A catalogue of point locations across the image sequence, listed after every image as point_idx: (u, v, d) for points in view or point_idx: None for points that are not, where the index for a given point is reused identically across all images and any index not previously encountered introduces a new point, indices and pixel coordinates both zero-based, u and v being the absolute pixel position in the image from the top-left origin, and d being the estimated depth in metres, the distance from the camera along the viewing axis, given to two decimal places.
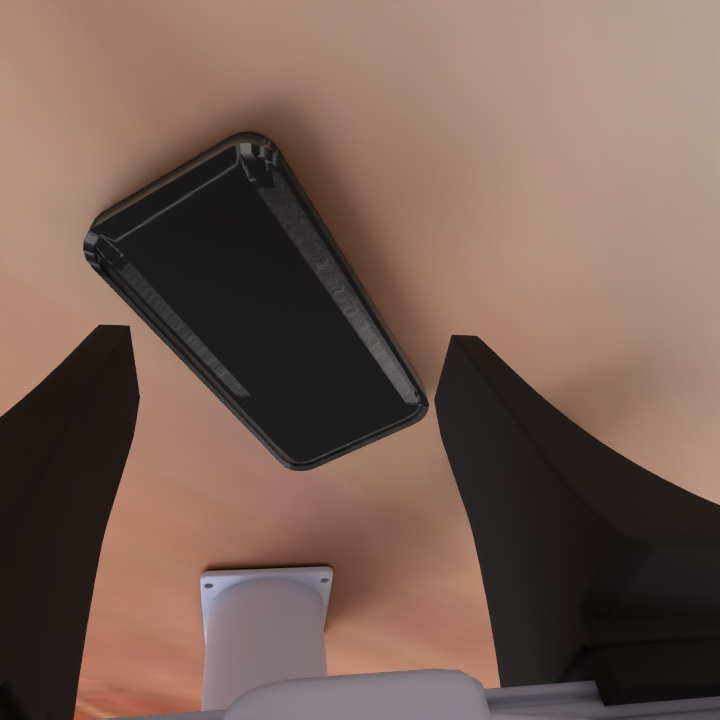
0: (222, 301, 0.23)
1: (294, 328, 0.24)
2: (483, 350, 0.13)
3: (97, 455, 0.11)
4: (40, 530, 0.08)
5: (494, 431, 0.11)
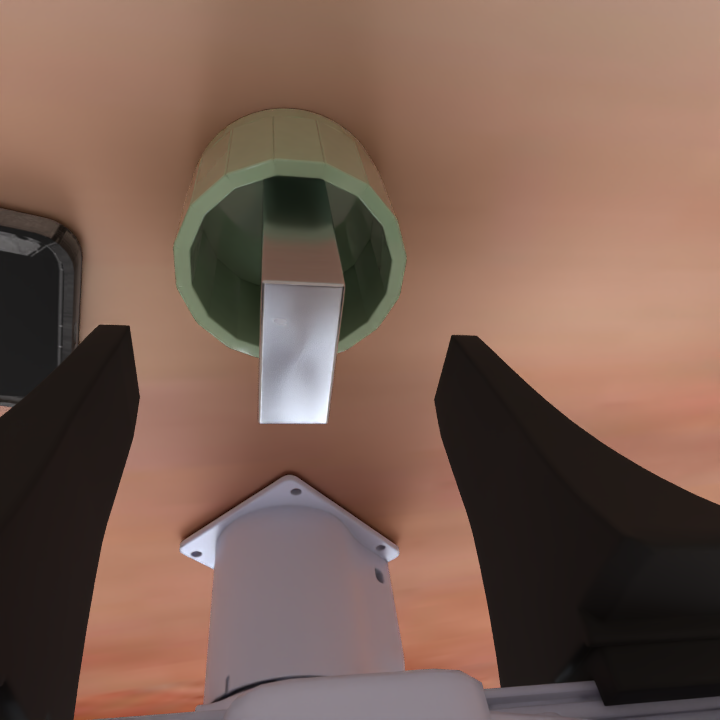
0: None
1: None
2: (483, 350, 0.13)
3: (97, 455, 0.11)
4: (40, 530, 0.08)
5: (494, 431, 0.11)
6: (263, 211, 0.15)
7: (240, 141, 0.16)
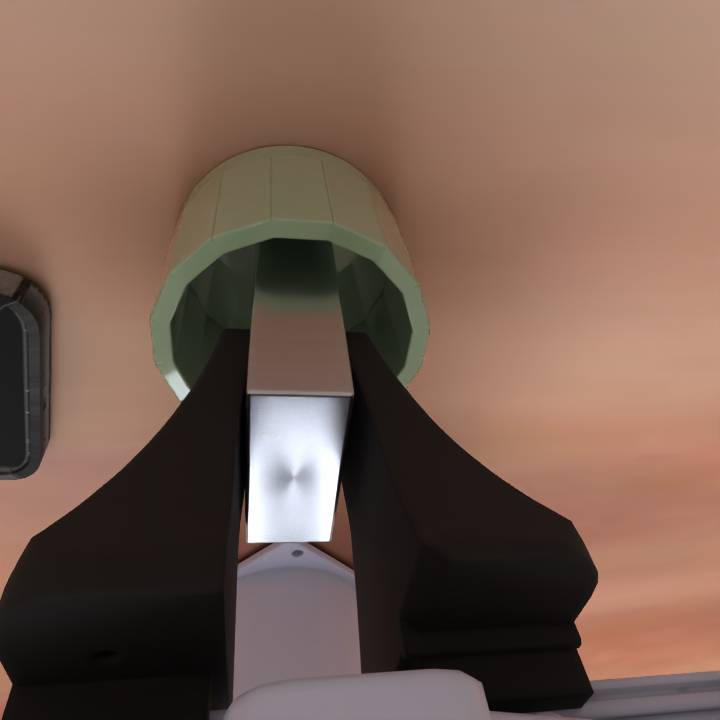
0: None
1: None
2: (365, 347, 0.12)
3: (242, 454, 0.11)
4: (233, 525, 0.08)
5: (361, 431, 0.11)
6: (254, 281, 0.12)
7: (231, 190, 0.14)
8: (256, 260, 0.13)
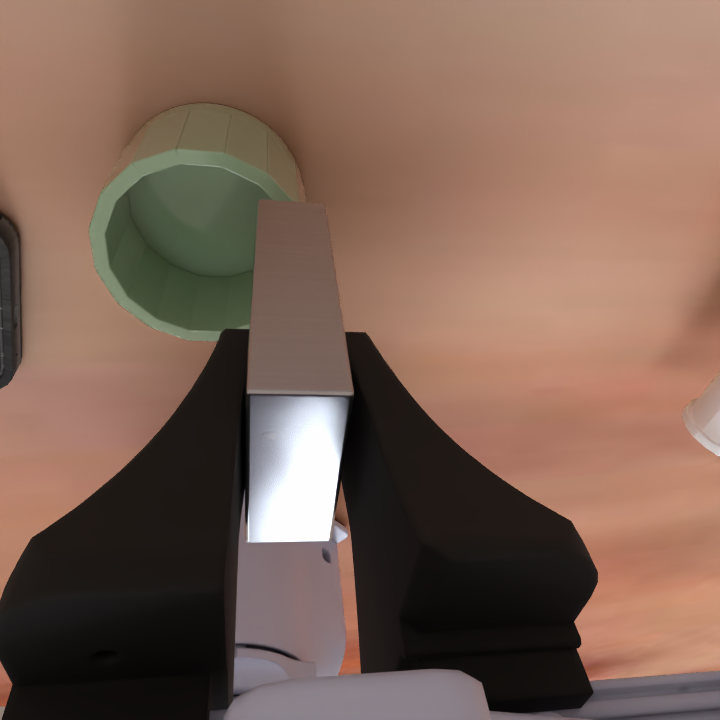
0: None
1: None
2: (365, 347, 0.12)
3: (242, 454, 0.11)
4: (233, 525, 0.08)
5: (361, 431, 0.11)
6: (253, 281, 0.12)
7: (154, 133, 0.18)
8: (255, 260, 0.13)
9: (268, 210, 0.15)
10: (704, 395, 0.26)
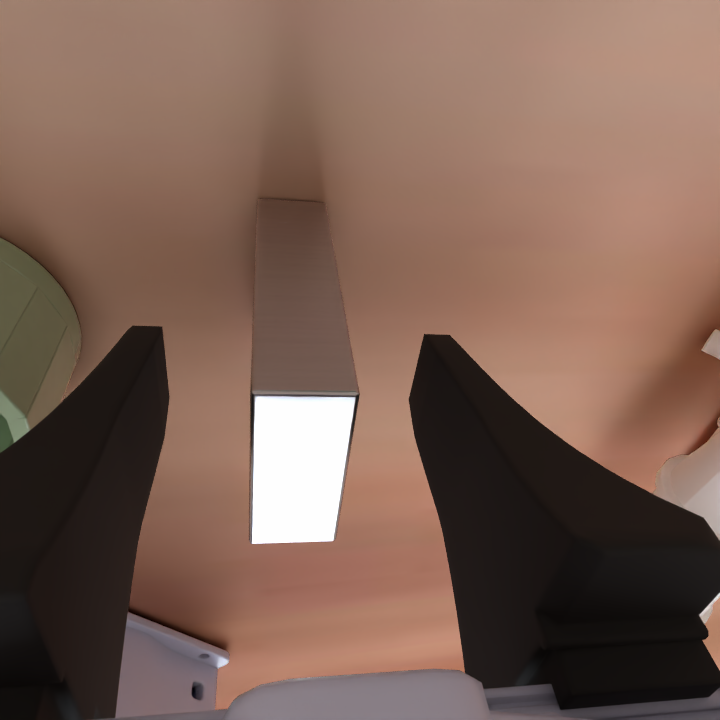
0: None
1: None
2: (454, 349, 0.13)
3: (135, 455, 0.11)
4: (91, 528, 0.08)
5: (462, 431, 0.11)
6: (255, 281, 0.12)
7: None
8: (256, 259, 0.13)
9: (269, 209, 0.15)
10: None
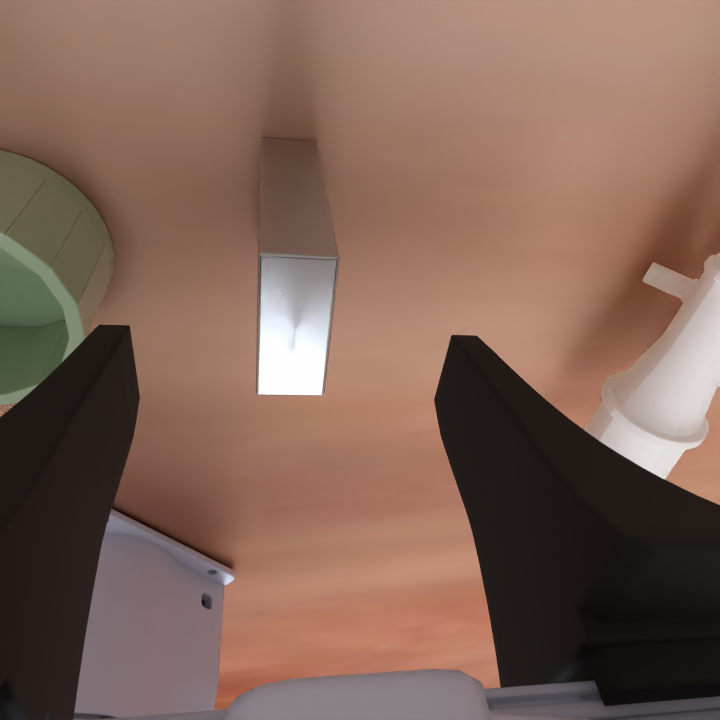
0: None
1: None
2: (483, 350, 0.13)
3: (97, 455, 0.11)
4: (40, 530, 0.08)
5: (494, 431, 0.11)
6: (261, 190, 0.16)
7: None
8: (261, 177, 0.16)
9: (271, 145, 0.18)
10: None
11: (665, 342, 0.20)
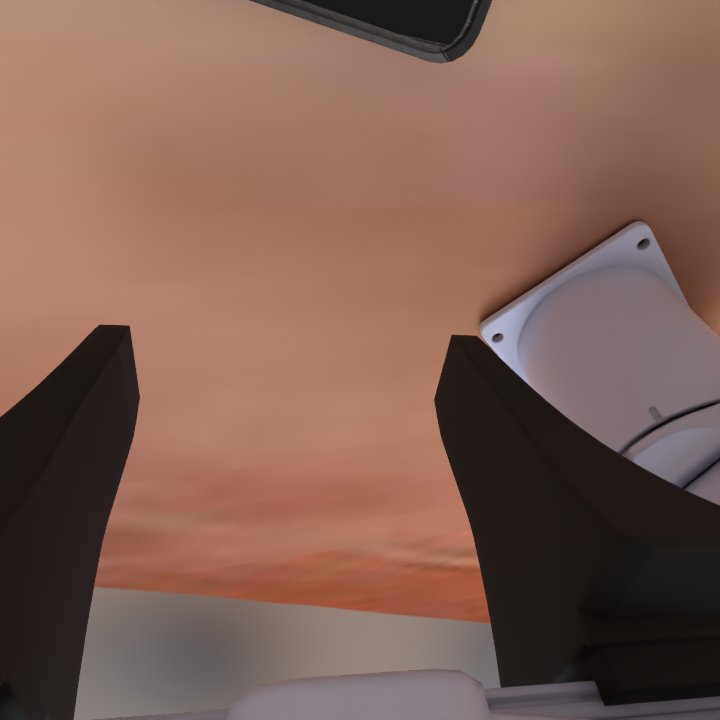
0: None
1: None
2: (483, 350, 0.13)
3: (97, 455, 0.11)
4: (40, 530, 0.08)
5: (494, 431, 0.11)
6: None
7: None
8: None
9: None
10: None
11: None
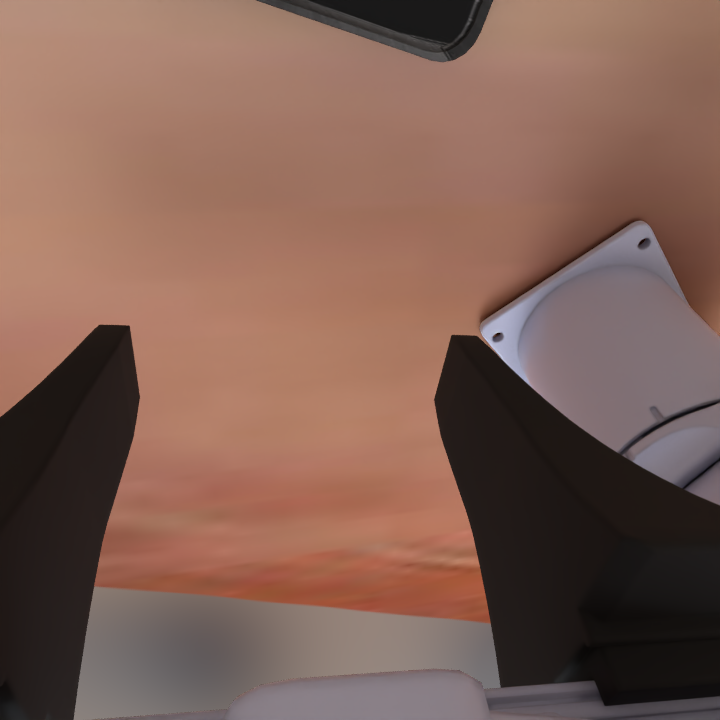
0: None
1: None
2: (483, 350, 0.13)
3: (97, 455, 0.11)
4: (40, 530, 0.08)
5: (494, 431, 0.11)
6: None
7: None
8: None
9: None
10: None
11: None
